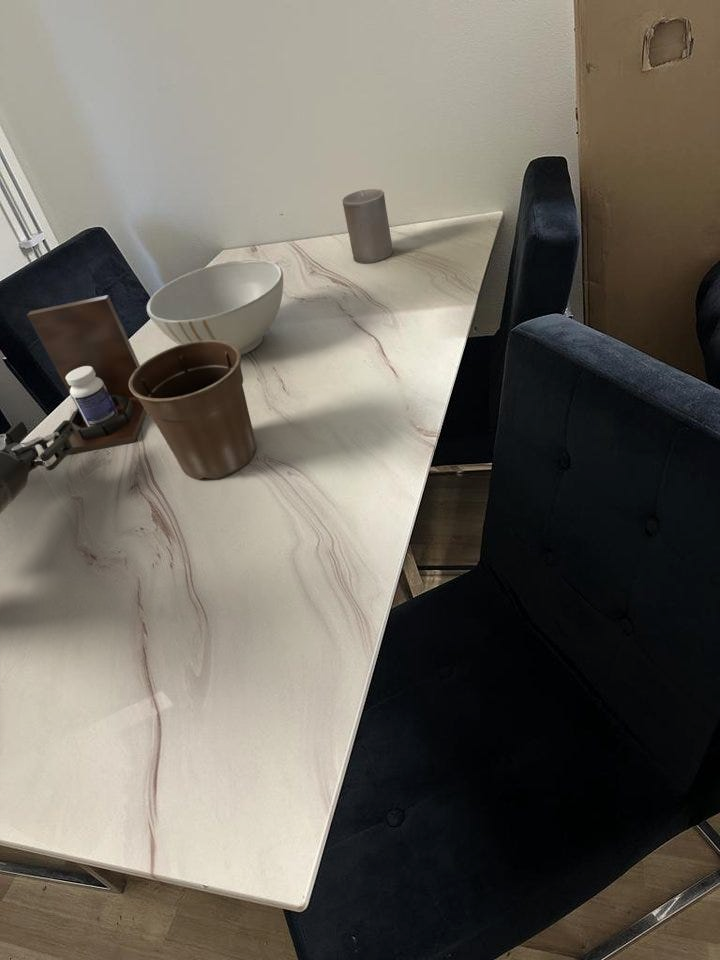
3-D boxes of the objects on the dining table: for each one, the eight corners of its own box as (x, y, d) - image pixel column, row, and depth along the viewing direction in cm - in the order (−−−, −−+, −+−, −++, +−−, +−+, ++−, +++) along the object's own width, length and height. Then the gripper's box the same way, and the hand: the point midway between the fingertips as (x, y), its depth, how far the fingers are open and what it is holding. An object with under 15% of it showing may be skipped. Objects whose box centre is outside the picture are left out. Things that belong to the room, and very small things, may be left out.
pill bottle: (126, 415, 118) (102, 366, 111) (101, 433, 114) (75, 383, 108) (106, 409, 121) (81, 361, 114) (81, 427, 117) (55, 379, 111)
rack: (57, 456, 113) (-5, 353, 101) (82, 408, 125) (30, 311, 113) (135, 442, 112) (83, 335, 100) (153, 394, 124) (108, 294, 112)
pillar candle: (345, 260, 159) (331, 195, 150) (374, 244, 163) (363, 181, 154) (372, 266, 153) (360, 199, 143) (402, 250, 157) (392, 184, 148)
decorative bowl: (184, 395, 122) (159, 336, 114) (158, 343, 142) (136, 290, 134) (317, 344, 127) (301, 285, 120) (274, 301, 148) (259, 248, 140)
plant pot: (291, 445, 103) (262, 353, 93) (208, 504, 95) (167, 411, 85) (231, 416, 113) (199, 330, 103) (151, 467, 105) (108, 380, 95)
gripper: (15, 466, 89) (76, 403, 102) (-72, 468, 92) (-3, 407, 105) (40, 509, 94) (95, 444, 106) (-45, 509, 97) (18, 446, 109)
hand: (46, 425), depth 105 cm, fingers open, 8 cm apart
